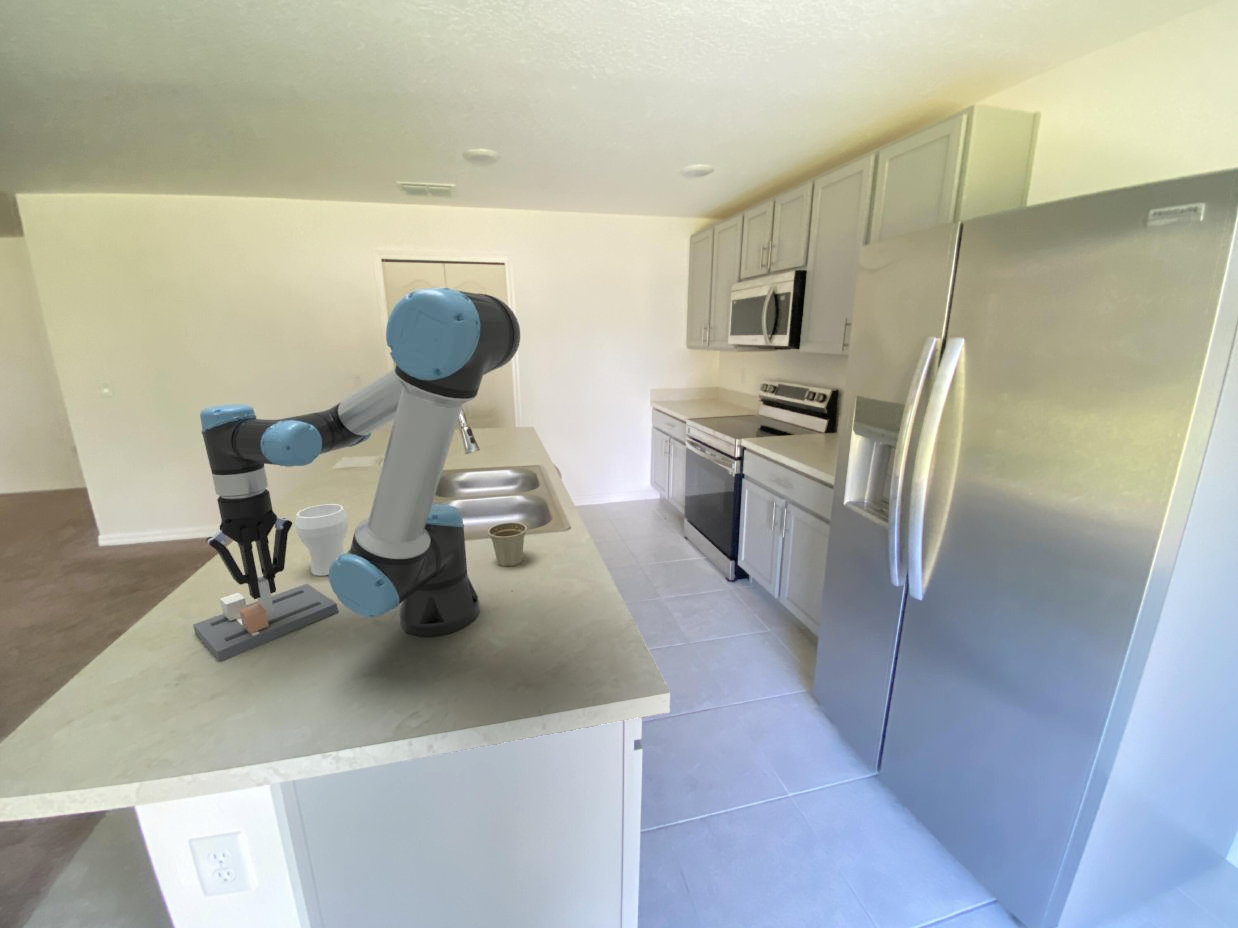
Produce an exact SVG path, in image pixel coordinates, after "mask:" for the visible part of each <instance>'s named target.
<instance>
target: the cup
mask: <svg viewBox="0 0 1238 928" xmlns="http://www.w3.org/2000/svg"><path fill="white" fill-rule="evenodd" d="M295 516H296V517H295V518H296V519H295V529H296V534H297V537H299V539H300V541H301V543H302V544H303V545H304V546H305V547H306V548H307V549H308V551H309V555H310V558H311V560H310V563H311V564H310V573H311V574H312V575H313V576H321V577H322V576H329V569H330V566H331V564H332V562H333V561H334V560H335V559H337V558H338V556H339V555H342V554H344V553H345V552H344V541H345V539H346V537H347V533H348V528H349V520H348V515H347V513H346V511H345V508H344V506H343V505H341V504H336V503H326V504H318V505H313V506H312V505H311V506H309V507H306V508H304V509H303V508H302V509H301V510H299V511H298V512H297V513H296V515H295Z"/></svg>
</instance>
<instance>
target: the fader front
mask: <svg viewBox="0 0 1238 928" xmlns="http://www.w3.org/2000/svg"><path fill="white" fill-rule="evenodd" d="M239 611H240V616H241V620H242V625H243V627H244V628H245V629H246V630H247V631H248V632H249V633H250V634H251V633H253V632H256V631H258V630H261V629H263V628H266V627H268V626H269V625H268V620H267V615H266V610H265V609H264V608H263V607H262V606H260V605H259V604H255V605H253V606H250V607H247V608H244V609H242V610H239Z"/></svg>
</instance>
